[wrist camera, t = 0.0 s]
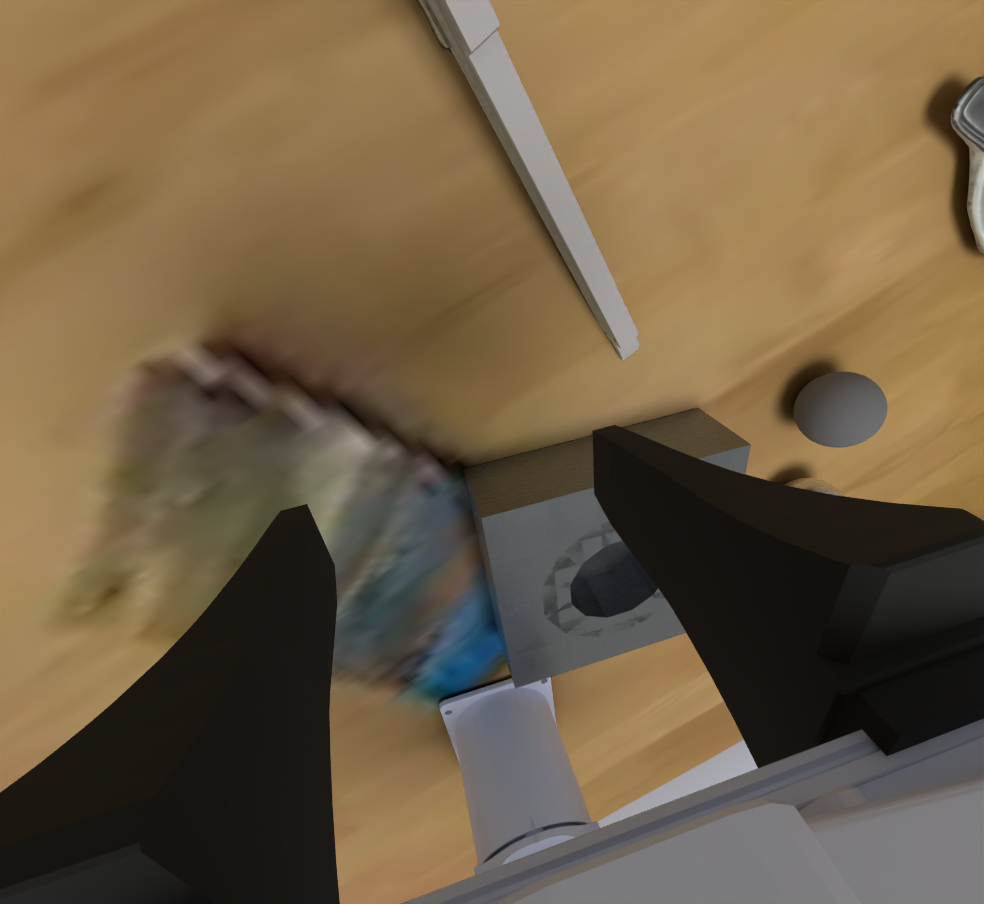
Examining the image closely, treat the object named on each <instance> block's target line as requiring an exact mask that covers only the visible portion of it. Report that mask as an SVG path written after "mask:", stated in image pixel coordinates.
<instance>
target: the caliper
mask: <svg viewBox="0 0 984 904" xmlns="http://www.w3.org/2000/svg"><path fill="white" fill-rule="evenodd" d="M416 1H417V2H418V4H419V5H420V7H421V8H422V10H423V12H424V14H425V16H426V18H427V19H428V21H429V24H430V26H431V28H432V30H433V32H434V34H435V36H436V38H437V40H438V42H439V44H440V45H441V47H442V48H443V49H444V51H447V52H451V53H453V55H454V57H455V59H456V61H457V63H458V65H459V66H460V68H461V70H462V72H463V74H464V76H465V78H466V79H467V81H468V83H469V85H470V87H471V89H472V90H473V92H474V94H475V96H476V98H477V100H478V102H479V103H480V105H481V107H482V109H483V111H484V113H485V114H486V116H487V118H488V120H489V122H490V124H491V126H492V127H493V129H494V131H495V133H496V135H497V137H498V138H499V140H500V142H501V144H502V146H503V148H504V150H505V151H506V153H507V155H508V157H509V159H510V161H511V163H512V164H513V166H514V168H515V170H516V172H517V174H518V175H519V177H520V179H521V181H522V183H523V185H524V187H525V188H526V190H527V192H528V194H529V196H530V198H531V199H532V201H533V203H534V205H535V207H536V209H537V211H538V212H539V214H540V216H541V218H542V220H543V222H544V224H545V225H546V227H547V229H548V231H549V233H550V235H551V237H552V238H553V240H554V242H555V244H556V246H557V248H558V250H559V251H560V253H561V255H562V257H563V259H564V261H565V263H566V264H567V266H568V268H569V270H570V272H571V274H572V276H573V277H574V279H575V281H576V283H577V285H578V287H579V289H580V290H581V292H582V294H583V296H584V298H585V300H586V302H587V303H588V305H589V307H590V309H591V311H592V313H593V314H594V316H595V318H596V319H597V321H598V323H599V324H600V326H601V328H602V329H603V331H604V333H605V334H606V336H607V337H608V339H609V340H611V342H612V344H613V346H614V348H615V350H616V352H617V353H618V355H619V357H620V358H621V360H624V359H626V358H627V357H628V356H630V355H631V354H632V353H633V352H635V351H636V350H637V349H638V348H640V347H639V346H640V344H639V342H638V340H637V338H636V336H638V335H639V334H638V331H637V329H636V327H635V325H634V323H633V321H632V318H631V316H630V314H629V312H628V310H627V308H626V306H625V303H624V301H623V299H622V297H621V295H620V293H619V290H618V288H617V286H616V284H615V282H614V280H613V278H612V275H611V273H610V271H609V269H608V267H607V265H606V262H605V260H604V258H603V256H602V254H601V252H600V250H599V247H598V245H597V243H596V241H595V239H594V237H593V235H592V232H591V230H590V228H589V226H588V224H587V222H586V220H585V218H584V215H583V213H582V211H581V209H580V207H579V205H578V203H577V200H576V198H575V196H574V194H573V192H572V190H571V188H570V185H569V183H568V181H567V179H566V177H565V175H564V173H563V170H562V168H561V166H560V164H559V162H558V160H557V158H556V155H555V153H554V151H553V149H552V147H551V145H550V143H549V140H548V138H547V136H546V134H545V132H544V130H543V128H542V125H541V123H540V121H539V119H538V117H537V115H536V113H535V110H534V108H533V106H532V104H531V102H530V100H529V98H528V96H527V93H526V91H525V89H524V87H523V85H522V83H521V81H520V78H519V76H518V74H517V72H516V70H515V68H514V66H513V63H512V61H511V59H510V57H509V55H508V53H507V51H506V48H505V46H504V44H503V42H502V40H501V38H500V36H499V33H498V31H497V30H498V29H499V26H500V23H499V21H498V18H497V16H496V14H495V12H494V10H493V7H492V5H491V3H490V1H489V0H416Z"/></svg>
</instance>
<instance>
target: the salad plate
mask: <svg viewBox="0 0 984 904" xmlns="http://www.w3.org/2000/svg"><path fill="white" fill-rule="evenodd" d="M951 124H952V127H953V129H954V130H955V131H956V132H957V134H958V135H959V136H960V137H961V138H962V139H963V140H964V141H965V142H966V144H967V145H968V146H969V155H970V170H969V188H968V198H967V211H968V216H969V219H970V225H971V228H972V230H973V233H974V236H975V241H976V246H977V248H978V250H979V251H980V252H981V253H983V254H984V77H978V78H976V79H974V80H973V81H972V82H971V83H970V84H969V85H968V86H967V87H966V88H965V89H964V91H963V92H962V93H961V94H960V96H959V97H958V98H957V100H956V102H955V104H954V106H953V109H952V113H951Z"/></svg>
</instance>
